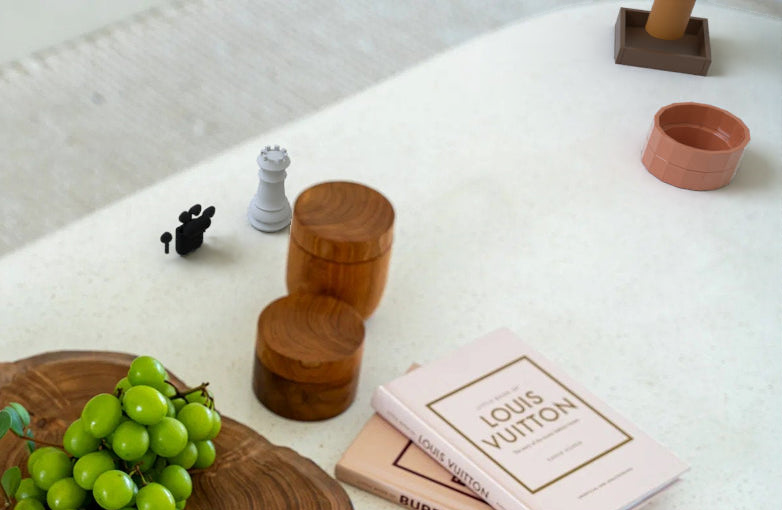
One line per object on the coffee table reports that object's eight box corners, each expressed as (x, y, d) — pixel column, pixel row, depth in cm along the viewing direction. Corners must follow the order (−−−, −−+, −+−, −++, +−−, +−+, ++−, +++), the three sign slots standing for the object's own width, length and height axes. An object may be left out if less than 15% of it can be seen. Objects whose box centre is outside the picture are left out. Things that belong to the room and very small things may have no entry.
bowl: (730, 150, 123) (747, 109, 120) (735, 201, 117) (753, 159, 114) (639, 136, 125) (653, 96, 121) (639, 185, 119) (654, 144, 115)
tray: (700, 37, 140) (708, 18, 138) (704, 80, 133) (711, 60, 131) (614, 25, 142) (620, 6, 140) (613, 67, 135) (619, 47, 133)
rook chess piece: (240, 211, 115) (244, 143, 110) (281, 203, 116) (287, 135, 110) (255, 237, 112) (260, 169, 107) (297, 229, 113) (305, 161, 108)
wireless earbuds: (209, 231, 113) (210, 189, 109) (227, 243, 112) (229, 201, 108) (157, 262, 110) (156, 219, 106) (174, 274, 108) (175, 232, 105)
